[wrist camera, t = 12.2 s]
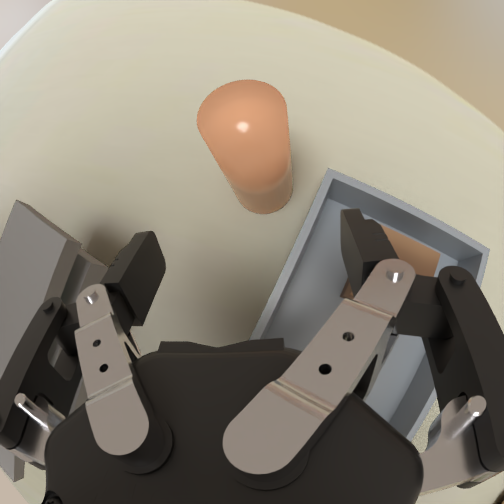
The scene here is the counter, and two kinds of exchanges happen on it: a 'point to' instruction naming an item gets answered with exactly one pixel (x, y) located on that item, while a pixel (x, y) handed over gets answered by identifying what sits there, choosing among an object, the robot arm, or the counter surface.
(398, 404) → the tote
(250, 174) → the peach dome-topped cylinder
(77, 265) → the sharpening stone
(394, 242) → the cube
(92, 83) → the counter surface
